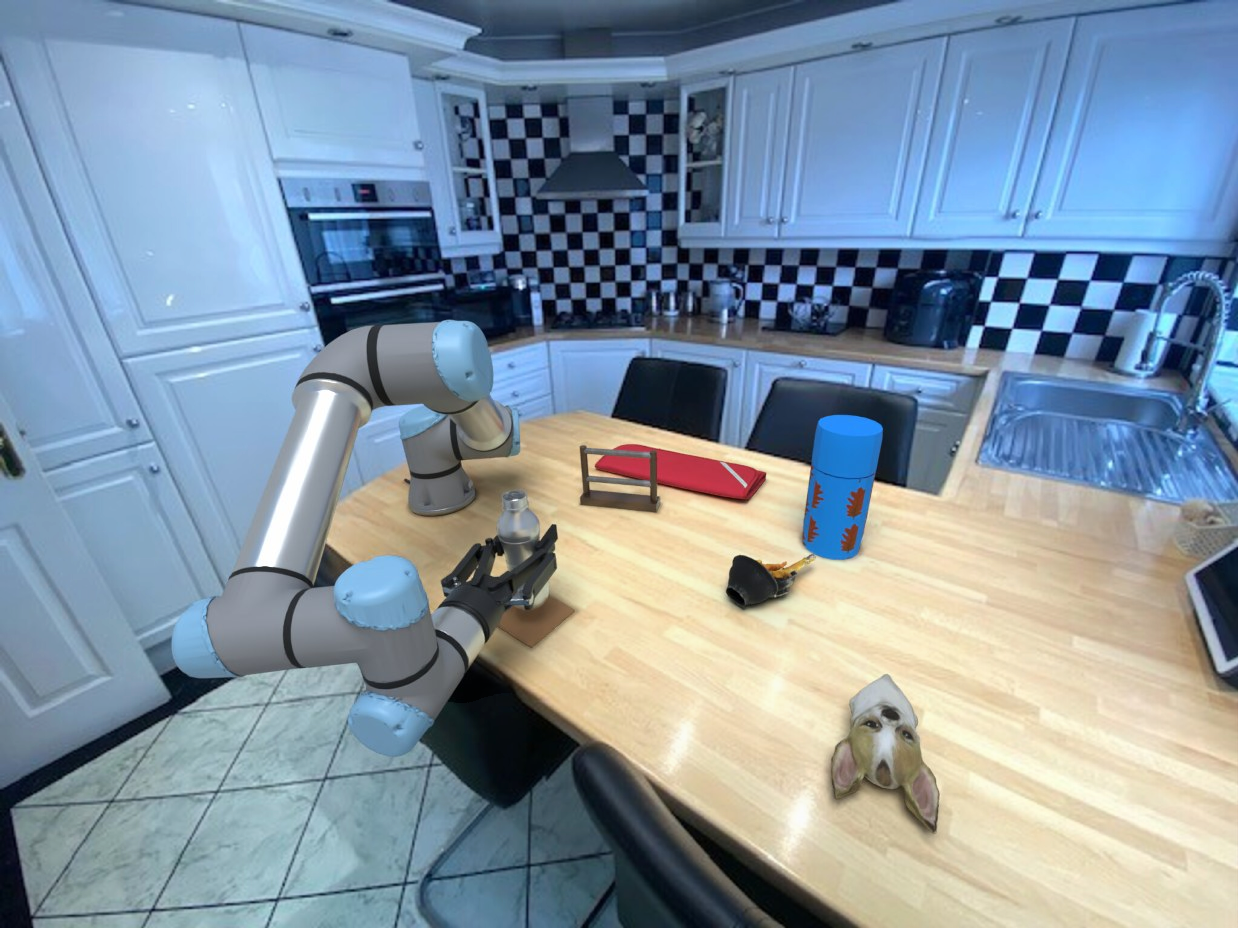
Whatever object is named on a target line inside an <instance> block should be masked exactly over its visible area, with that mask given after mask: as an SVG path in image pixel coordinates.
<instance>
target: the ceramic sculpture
mask: <svg viewBox="0 0 1238 928" xmlns="http://www.w3.org/2000/svg"><path fill="white" fill-rule="evenodd" d="M848 706H849V710H850V713H851V718H850V727H849V729H850V731H849V734H848V735H847V737H846V738H844V739H842V740H840V741H839V742H838V743H837V744H836V745H835V746H834V751H833V754H832V756H831V759H830V763H831V765H830V773H831V774H830V777H831V779H830V780H831V786H832V789H833V796H834V799H836V800H839V799H841V798H843V797H845V796H849V795H851V794H853V793H855V792H858V791H859V790H860V789H861V788H862V784H863V780H864V779H867V780H868V781H869V782H871V783H872V784H874V785H876V786H878V787H880V788H883V789H889V790H896V789H898V788H901V787H902V788H903V800H904V801H903V802H904V804H905V806H906V808H907V809H908V810H909V811H910V812H911V813H912V814H913V815H914V816H915V817H916V819H918V820H919V821H920V822H921V823H922V824H923V825H924V826H925V828H927V830H928V831H929V832H931V834H934V835H936V834H937V829H938V824H937V823H938V821H939V820H938V819H939V807H940V795H941V794H940V790H939V788H938V785H937V778H936V776H935V774H934V773H933V771H932V769H931V768H930V767H929V766H928V765H927V764H926V763H925V761H924V759H923V755H922V749H921V741H920V740H921V739H920V735H919V734H918V731H917V726H918V725H919V717H918V716H917V715H916V713H915V709H914V707H913V706H912V703H911V702H910V700H909V699H908V698H907V696H906V695H905V693H904V692H903V691H902V689H901V688H900V687H899V686H898V684H897V683H895V681H894V680H893V679H892V676H891V675H890V674H888V673H885V674H883V675H882V676H880V677H878V678H877V679H875V680H873V681H872V682H870V683H869V684H868V685H866V686H865V687H863V688H862V689H860V690H859V691H858V692H857V693H856V694H855V695H854V696H853V697H851V698H850V699H849V703H848Z"/></svg>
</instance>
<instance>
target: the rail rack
mask: <svg viewBox="0 0 1238 928" xmlns="http://www.w3.org/2000/svg"><path fill="white" fill-rule="evenodd" d="M588 455H595V456H604V455H607V456H620V457H634V458H647V459H650V481H647V480H643V479H635V478H634V479H633V478H622V477H610V476H601V475H600V476H599V475H590V473H589V472H590V471H589V459H588ZM579 458H580V470H581V482H582V494H581V495H580V496H579V501H580V504H579V505H581V506H591V507H598V508H599V507H600V508H608V509H617V510H618V509H619V510H628V511H639V512H647V513H657V512H658V510H659V507H660V505H661V496H660V495H658V483H657V451H655V450H651V451H650V452H639V451H626V450H612V449H610V448H598V447H597V448H596V447H587V445H586V444H581V445H580V446H579ZM590 483H599V484H610V485H621V486H632V487H643V488H649V494H641V493H640V494H638V493H631V492H630V493H629V492H620V491H619V492H618V491H608V490H597V489H591V487H590V486H591V485H590Z"/></svg>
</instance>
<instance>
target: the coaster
mask: <svg viewBox="0 0 1238 928" xmlns="http://www.w3.org/2000/svg"><path fill="white" fill-rule="evenodd" d="M575 612H576V609H574V608H572V607H570V606H569V605H567V604H565V603H563V602H561V601H559V600H557V599H556V598H554V597H552V596H550V595H549V596H548V599H547V600H546V602H545V603H544V604H543V605H542V606H541V607H539V608H537V609H534V610H521V609H518V608H516V607H515V606H514V605H513V606H512V608H511V609H509V610H508V611H506V612H505V613H504V614H503V616H502V618H501V620H500V623H499V625H498V626H497V628H499V629H501V630H502V631H504V632H506V634H508V635H510V636H512V637H514V638H515V639H516V640H518V641H520V642H521V643H523V644H524V645H526V646H528V647H529V648H533V647H534V646H535V645H537V644H538V643H539V642H540V641H541V640H543V639H544V638H545V637H546V636H547V635H549V634H550V633H551V632H552V631H553V630H554V629H556V628H557V627H558V626H559V625H560V624H561V623H563V622H564V621H566V619H568V618H569V617H570V616H571V615H572V614H574V613H575Z"/></svg>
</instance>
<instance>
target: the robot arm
mask: <svg viewBox="0 0 1238 928" xmlns="http://www.w3.org/2000/svg"><path fill="white" fill-rule="evenodd" d="M493 388H494V366H493V359H492V355H491V350H490V349H489V345H488V340H487V339H486V336H485V334H484V332H483V331H482V329H481V328H480V327H479V326H478V325H477V324H476V323H474V322H472V321H469V320H454V319H446V320H442V321H436V322H434V321H433V322H417V323H398V324H397V323H396V324H383V325H364V326H360V327H356V328H354V329H351V330H348V331H347V332H345V333H343V334H340V336H338V337H336V338H334V340H332V341H330V342H329V343H328V344H327V345H326V346H324V348H322V349H321V350H320V351H319V352H318V353H317V354H316V355H315V356H314V357H313V358H312V359H311V361H310V362H309V363H308V364H307V365H306V367H305V368H304V369H303V371H302V372H301V374H300V376H299V378H298V380H297V382H296V384H295V387H294V389H293V392H292V395H291V403H292V406H293V409H294V410H295V411H294V414H293V417H292V419H291V422H290V424H289V427H288V429H287V431H286V434H285V437H284V438H283V442H282V444H281V446H280V449H279V452H278V454H277V457H276V460H275V462H274V464H273V467H272V470H271V472H270V474H269V477H268V480H267V482H266V484H265V487H264V490H263V492H262V493H261V497H260V500H259V502H258V505H257V508H256V510H255V512H254V514H253V518H252V520H251V523H250V525H249V527H248V530H247V533H246V535H245V537H244V540H243V543H242V545H241V548H240V550H239V553H238V554H237V558H236V560H235V563H234V565H233V568H232V570H231V573H230V575H229V577H228V578H227V582H226V584H225V586H224V589H223V592H222V593H221V595H214V596H210V597H208V598H204V599H199V600H197V601H195V602H193V603H191V604H190V605H189V606H188V609H186V611H183V612H182V613H181V614H180V615H179V617H178V619H177V621H176V622H175V625H174V628H173V631H172V635H171V654H172V659H173V661H174V663H175V665H176V666H177V668H178V669H179V670H180V671H181V672H182V673H183V674H186V675H187V676H188V677H189V678H194V679H195V678H196V679H219V678H244V677H246V676H251V675H258V674H266V673H273V672H280V671H281V672H282V671H290V670H296V669H310V668H320V667H330V666H331V667H332V666H338V665H349V664H357V666H358V668H359V669H360V673H361V676H362V680H363V682H364V685H365V690H364V691H362V692H361V693H360V694H359V695H358V697H357V699H356V700H355V702H354V703H353V705H352V706H351V708H350V710H349V714H348V718H347V724H348V727H349V729H350V732H351V733H352V735H353V736H354V738H355V739H356V740H357V741H358V742H359V743H360V744H361V745H363V746H364V747H365V748H367V749H368V750H370V751H372V752H373V753H376V754H379V755H381V756H387V757H390V758H391V757H392V758H396V757H402V756H405V755H406V754H409V753H410V752H411V751H412V750H414V748H415V747H416V745H417V744H418V743H419V741H420V740H421V738H422V737H423V736H424V735H425V733H426V732H427V731H428V729H430V728H431V727H432V726H433V725H434V724H435V720H436V719H437V717H438V716H439V714H440V713H441V711H442V710H443V709H444V707H445V705H446V704H447V702H448V701H449V699H450V698H451V696H452V695H453V693H454V691H455V690H456V688H457V687H458V686H459V684H460V682H461V681H462V679H463V678H464V676H465V674H466V673H467V672H468V670H469V669H470V667H471V666H472V664H473V663H474V661H475V660H476V658H477V657H478V655H479V654H480V652H481V651H482V649H483V648H484V646H485V645H486V643H487V642H488V641H489V640H490V638H491V637H492V635H493V633H495V631H496V629H497V628H498V625H499V623H500V620H501V618H502V616H503V614H504V613H505V612H506V611H508V610H509V609H511V608H512V606H513V605H524V609H525V610H530V609H532V608H533V605H534V600H535V598H536V596H537V595H538V594H539V592H540V591H541V590H542V588H543V587H544V586H545V584H546V583H547V582H548V583H549V580H550V579H551V577H552V576H553V575H554V573H556V571H557V569H558V564H557V554H556V553H555V551H556V542H557V541H558V539H559V535H558V526H557V524H555V523H551V524H550V525H549V527H548V529H547V530H546V531H545V533H544V535H542V537H541V538H540V541H539V543H538V544H537V545H536V552H535V553H534V554H533V555H531V556H530V557H529V558H527V559H526V560H525V561H523V562H522V563H521V564H520V565H518V566H517V567H516V568H514V569H513V570H512V571H507V570H506V571H504V572H503V573H501V574H500V575H499V576H498V575H497V576H494V575H491V574H492V571H493V569H494V565H495V561H496V559H497V557H503V556H504V551H503V548H502V545H501V542H500V540H499V536H498V534H496V535H495V536H494V538H492V537H487V538H485V540H484V542H485V543H484V545H482V544H481V543H480V542H477V543H474V544H473V545H472V546H471V547H470V549H469V550H467V553H466V554H465V555H464V556H463V558H462V559H461V560H460V561H459V563H457V565H456V566H455V568H454V569H453V570H452V571H451V572H450V573H449V574H447V575H446V576H445V577H443V578H442V579H441V580H440V584H441V589H442V593H443V596H444V597H445V598H444V599H443V601H442V602H441V603H440V604H439V605H438V606H437V608H436V609H435V610H434V611H433V612H432V613H431V608H430V605H429V603H430V600H429V598H428V593H427V591H426V589H425V588H424V585H423V583H422V579H421V577H420V573H419V571H418V568H417V567H416V566H415V564H414V563H413V562H412V561H411V560H410V559H408V558H406V557H403V556H399V555H394V554H393V555H392V554H387V555H377V556H374V557H372V558H371V559H369V560H366V561H365V560H361V561H359V562H357V563H355V564H352V565H351V566H350V567H348V568H347V569H345V570H344V571H343V572H342V573H341V574H340V576H338V577H337V579H336V581H335V582H334V585H329V586H320V587H319V586H318V587H315V583H316V579H317V575H318V572H319V568H320V564H321V562H322V557H323V555H324V551H325V547H326V544H327V541H328V537H329V533H330V531H331V530H330V529H331V526H332V523H333V519H334V516H335V513H336V509H337V506H338V502H339V498H340V495H341V492H342V488H343V485H344V481H345V478H346V475H347V470H348V467H349V463H350V461H351V457H352V453H353V449H354V447H355V444H356V443H355V442H356V439H357V436H358V433H359V430H360V428H362V427H363V428H364V426H366V425H367V424H368V423H369V422H370V420H371V416H372V413H373V411H374V410H377V409H378V408H384V407H396V406H413V405H420V406H417V407H415V408H412V409H410V410H408V411H406V412H405V413H403V414H402V415H401V416H400V418H399V419H398V429H399V433H400V435H399V439H400V440H401V444H402V448H403V451H404V456H405V460H406V464H407V467H408V470H409V475H410V479H408V478H404V479H403V481H404V482H406V483H408V484H409V488H408V496H407V501H408V505H409V509H410V511H411V512H412V513H414V514H416V515H420V516H423V517H425V516H426V517H437V516H443V515H448V514H452V513H455V512H457V511H460V510H462V509H464V508H466V507H467V506H469V505H470V504H471V503H472V502H473V501H474V500H475V497H476V490H475V487H474V484H473V483H474V482H473V480H472V479H471V478H470V477H469V476H468V474H467V472H466V470H465V468H463V467H464V466H463V463H462V461H473V460H485V459H496V458H497V459H499V458H506V459H507V458H508V459H509V457H516V456H518V455H520V453H521V429H520V418H519V417H520V416H519V409H518V407H517V406H516V405H510V404H507V405H505V406H504V405H503V404H502V403H501V402H499V401H497V400H495V399H493V397H492V396H491V392H492V390H493ZM471 576H472V577H471ZM470 577H471V579H470ZM524 583H525V584H524ZM523 584H524V587H521V586H522V585H523ZM519 587H520V591H519V592H518V593H517V591H518V588H519ZM516 593H517V594H516ZM515 594H516V595H515Z"/></svg>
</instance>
